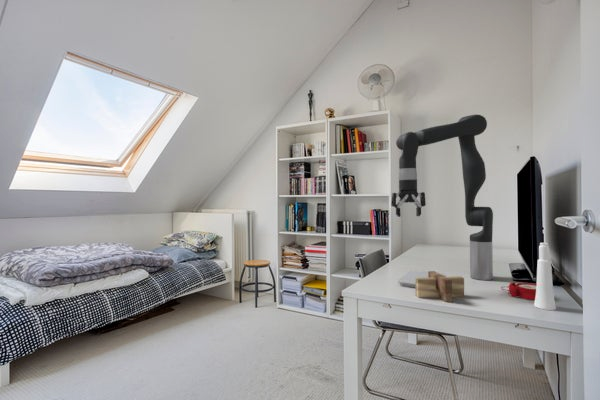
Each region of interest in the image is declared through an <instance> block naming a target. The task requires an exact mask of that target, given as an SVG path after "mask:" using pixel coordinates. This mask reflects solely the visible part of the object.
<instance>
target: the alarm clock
mask: <svg viewBox="0 0 600 400" xmlns="http://www.w3.org/2000/svg"><path fill="white" fill-rule="evenodd" d="M536 285H537V283H529V282H518V283H516V282H510V283H509V285H508V286H507V288H508V289H504V286H501V287H500V288H501V290H503V291H508V293H509V295H510V296H511V297H513V298H516V297H518V298H520V299H525V300H531V301H532V300H533V301H535V297H536Z"/></svg>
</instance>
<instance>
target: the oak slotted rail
mask: <svg viewBox="0 0 600 400" xmlns="http://www.w3.org/2000/svg"><path fill="white" fill-rule="evenodd" d="M446 277H447V278H449V279H451V280H452V298H453V297H454V298H455V297H465V277H463V276H461V275H460V276H446ZM415 287H416V288H415V296H416V297H417V298H418V299H420V298H423V299H424V298H439V290H438V289H437V288H436V279H435V278H433V277H426V278H415Z"/></svg>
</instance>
